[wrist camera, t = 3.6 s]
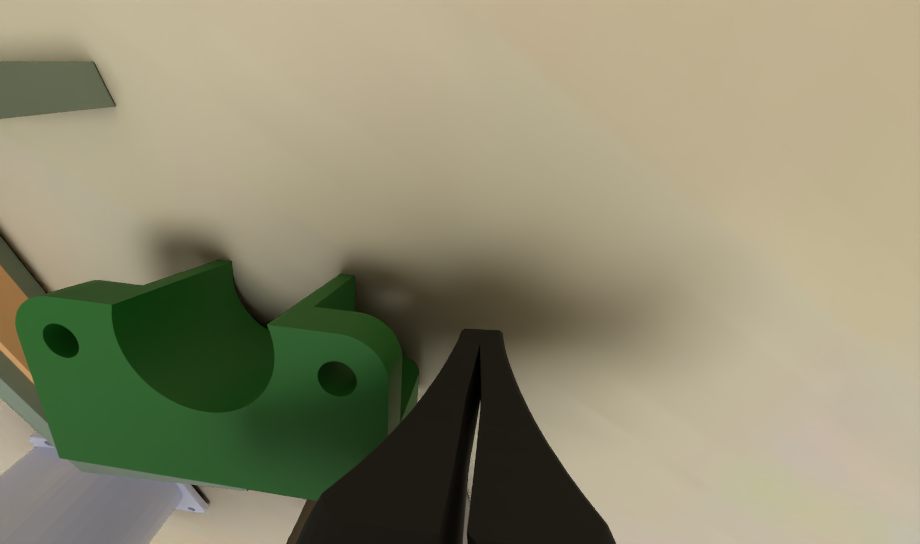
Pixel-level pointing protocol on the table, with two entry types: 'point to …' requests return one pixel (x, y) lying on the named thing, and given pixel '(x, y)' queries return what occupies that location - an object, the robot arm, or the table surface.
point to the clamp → (215, 381)
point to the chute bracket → (3, 275)
